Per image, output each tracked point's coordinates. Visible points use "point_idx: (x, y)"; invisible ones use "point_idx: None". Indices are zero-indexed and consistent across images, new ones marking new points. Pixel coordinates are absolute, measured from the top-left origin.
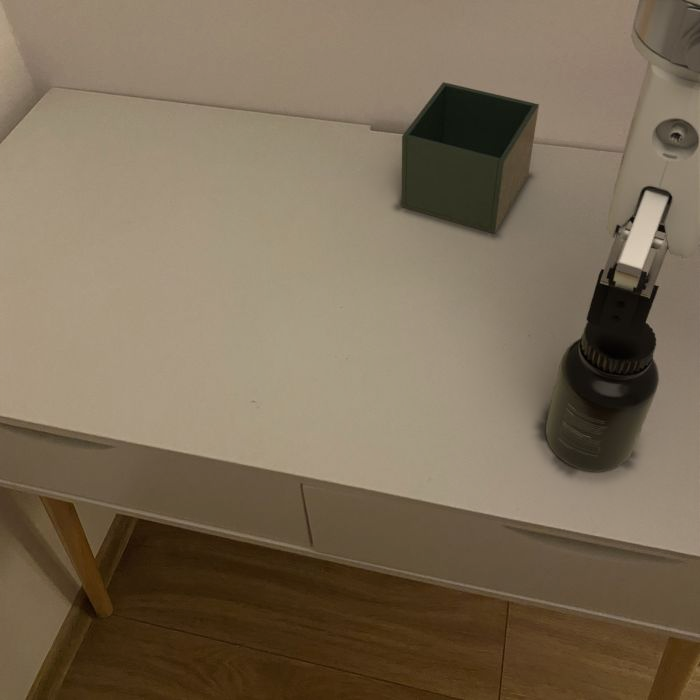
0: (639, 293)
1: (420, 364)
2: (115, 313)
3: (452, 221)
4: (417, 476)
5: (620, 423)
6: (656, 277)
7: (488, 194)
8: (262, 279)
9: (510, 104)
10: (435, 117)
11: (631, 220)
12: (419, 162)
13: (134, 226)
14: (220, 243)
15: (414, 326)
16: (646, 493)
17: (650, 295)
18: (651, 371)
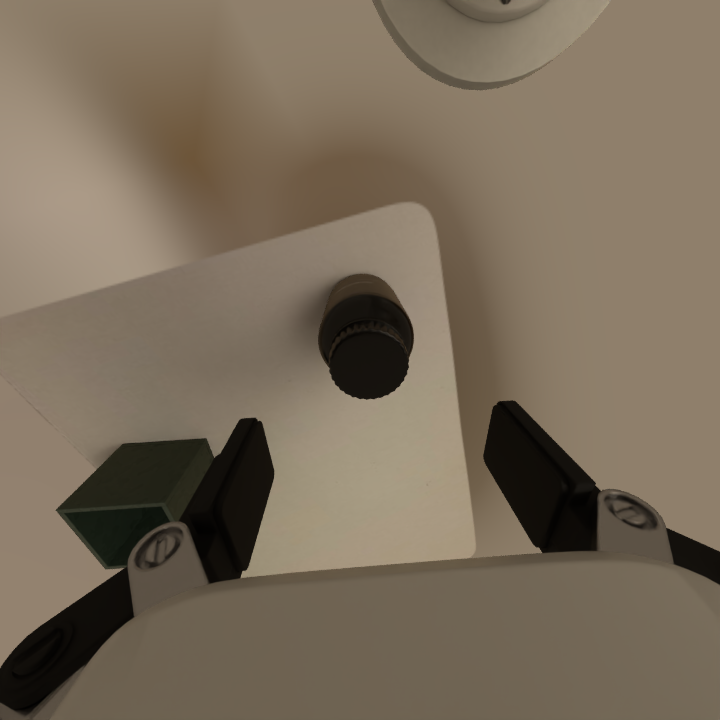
0: (701, 545)
1: (356, 428)
2: (401, 555)
3: None
4: (442, 394)
5: (402, 306)
6: (666, 546)
7: (190, 475)
8: (340, 521)
9: (79, 523)
10: None
11: (273, 477)
12: None
13: None
14: (327, 547)
15: (327, 444)
16: (392, 249)
17: (653, 508)
18: (361, 309)
